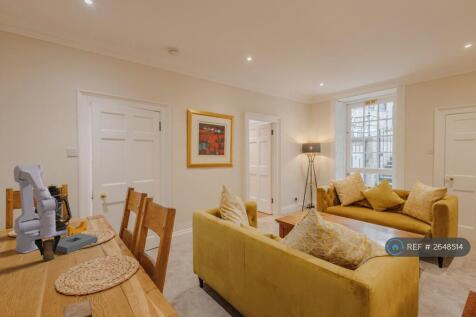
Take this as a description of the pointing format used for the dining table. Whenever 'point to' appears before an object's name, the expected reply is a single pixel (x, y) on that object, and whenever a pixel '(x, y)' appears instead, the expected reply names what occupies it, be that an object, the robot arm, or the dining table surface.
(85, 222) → the pipe clamp
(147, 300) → the dining table surface
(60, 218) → the lantern
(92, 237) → the hole block
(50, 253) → the peg
